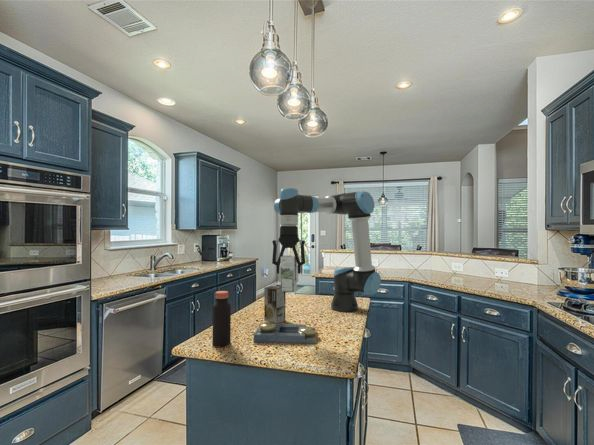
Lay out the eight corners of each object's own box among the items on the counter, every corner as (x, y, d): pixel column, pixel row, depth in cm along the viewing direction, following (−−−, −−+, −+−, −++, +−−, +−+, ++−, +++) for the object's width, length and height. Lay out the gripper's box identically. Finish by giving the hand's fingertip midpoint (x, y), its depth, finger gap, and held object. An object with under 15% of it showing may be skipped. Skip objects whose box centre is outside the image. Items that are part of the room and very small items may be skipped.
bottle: (211, 342, 123) (211, 291, 123) (228, 340, 125) (228, 289, 126) (213, 348, 117) (214, 294, 117) (232, 346, 119) (232, 292, 120)
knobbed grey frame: (306, 331, 136) (306, 320, 137) (304, 344, 121) (304, 330, 122) (260, 330, 138) (260, 319, 138) (253, 342, 123) (253, 329, 123)
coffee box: (286, 320, 153) (286, 287, 154) (276, 323, 148) (276, 289, 149) (273, 317, 159) (273, 285, 160) (263, 319, 155) (263, 286, 155)
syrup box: (297, 289, 132) (297, 255, 133) (293, 292, 126) (293, 256, 127) (284, 289, 133) (283, 255, 134) (280, 292, 128) (280, 256, 128)
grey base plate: (315, 331, 136) (315, 323, 136) (315, 344, 121) (315, 335, 121) (274, 331, 137) (274, 322, 137) (268, 343, 122) (268, 334, 122)
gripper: (264, 225, 128) (264, 282, 127) (311, 225, 126) (311, 283, 126) (267, 225, 135) (267, 279, 134) (312, 225, 134) (312, 280, 133)
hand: (288, 281), depth 130 cm, fingers closed on syrup box, 6 cm apart
